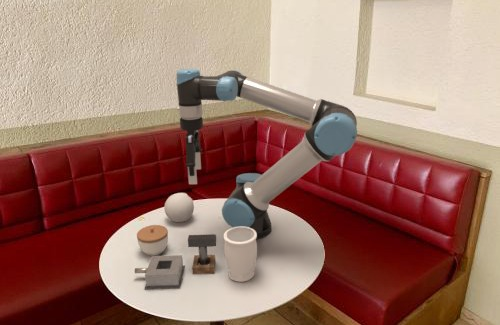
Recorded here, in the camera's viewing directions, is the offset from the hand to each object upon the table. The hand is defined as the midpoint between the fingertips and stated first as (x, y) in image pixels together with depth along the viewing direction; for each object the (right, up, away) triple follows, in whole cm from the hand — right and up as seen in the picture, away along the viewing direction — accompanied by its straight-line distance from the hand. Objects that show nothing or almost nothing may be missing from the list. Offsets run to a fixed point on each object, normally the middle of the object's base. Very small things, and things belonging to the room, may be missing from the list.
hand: (195, 176), depth 133 cm
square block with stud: (-10, -33, -10) cm, 36 cm away
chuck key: (+4, -31, -6) cm, 31 cm away
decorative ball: (-10, -20, +25) cm, 33 cm away
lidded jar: (-15, -28, +4) cm, 32 cm away
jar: (+16, -32, -9) cm, 37 cm away
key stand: (+4, -31, -6) cm, 31 cm away
